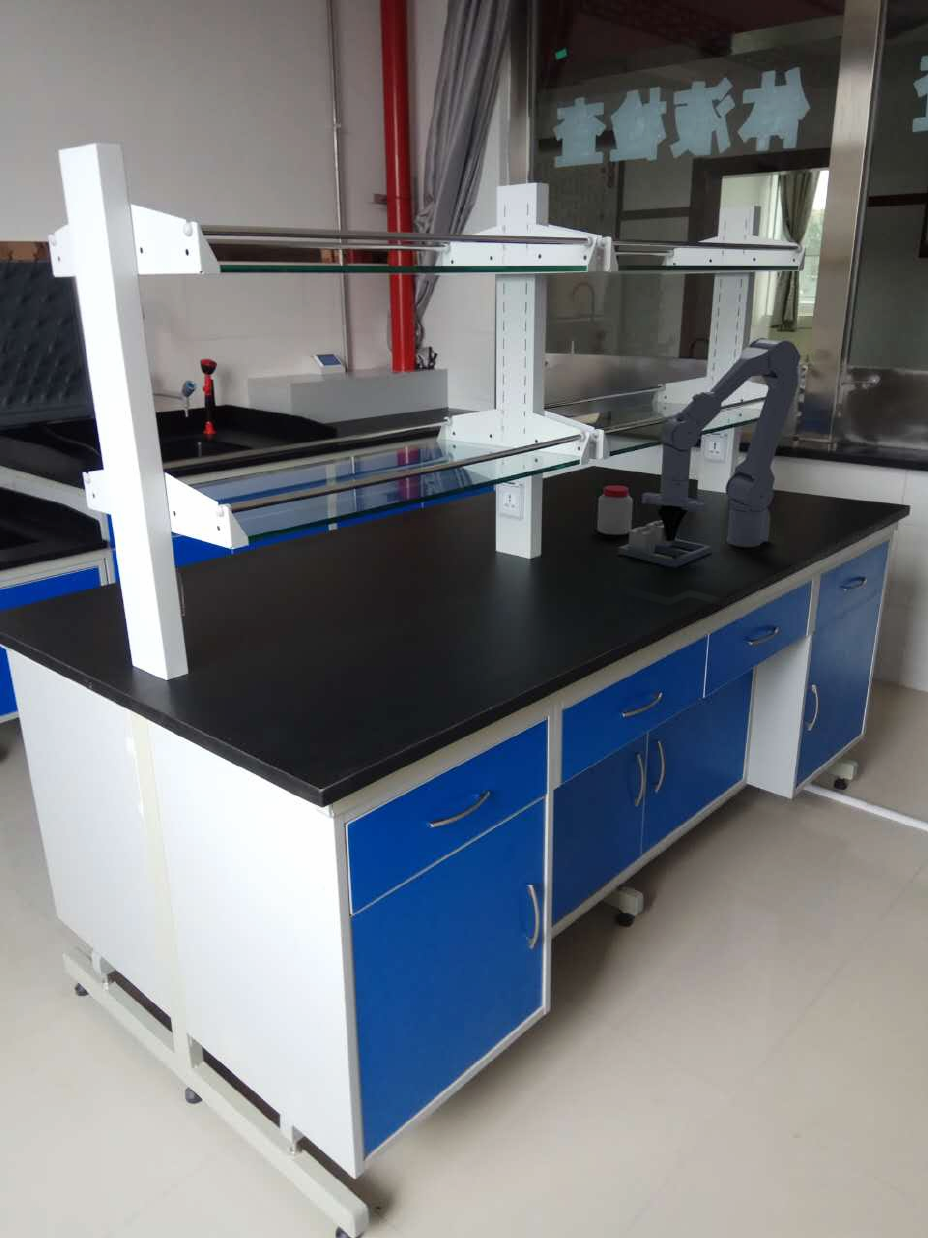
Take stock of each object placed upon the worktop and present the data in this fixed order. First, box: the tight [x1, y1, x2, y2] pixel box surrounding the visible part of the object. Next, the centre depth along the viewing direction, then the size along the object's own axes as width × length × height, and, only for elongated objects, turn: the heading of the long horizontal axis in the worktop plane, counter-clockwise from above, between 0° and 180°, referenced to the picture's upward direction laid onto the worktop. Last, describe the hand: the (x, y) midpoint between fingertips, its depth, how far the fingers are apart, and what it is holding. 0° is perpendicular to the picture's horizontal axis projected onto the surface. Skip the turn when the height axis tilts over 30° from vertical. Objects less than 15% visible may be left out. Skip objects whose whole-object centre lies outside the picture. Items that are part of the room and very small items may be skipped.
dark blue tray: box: [618, 537, 713, 568], centre depth 199 cm, size 14×19×3 cm
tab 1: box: [628, 525, 656, 554], centre depth 197 cm, size 4×4×6 cm
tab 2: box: [645, 519, 672, 548], centre depth 201 cm, size 4×4×6 cm
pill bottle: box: [596, 485, 634, 536], centre depth 214 cm, size 8×8×11 cm
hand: (670, 540), depth 199 cm, fingers closed
